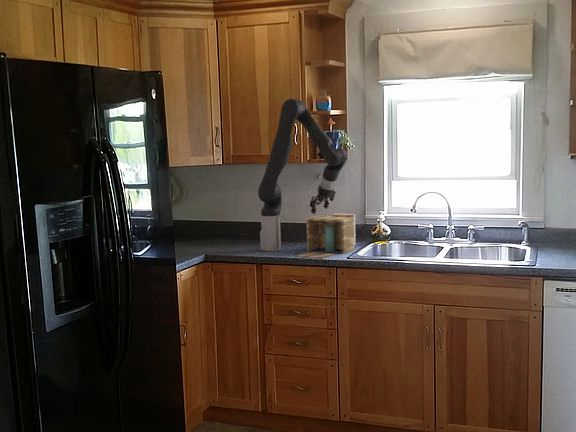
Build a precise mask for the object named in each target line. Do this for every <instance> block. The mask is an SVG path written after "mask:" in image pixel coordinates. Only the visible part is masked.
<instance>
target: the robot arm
mask: <svg viewBox="0 0 576 432" xmlns="http://www.w3.org/2000/svg"><path fill="white" fill-rule="evenodd" d="M295 120H296V121H297V122H299V124H301V125H302V126H303V127H304V129H305V130H306V132H307V134H308V136H309V139H310V140H311V141H312V142H313V144H314V145H315V146H316V147H317V148H318V150H319V151H320V154H321V155H322V157H323V160H324V162H325V163H326V166H325V167H324V169H323V173H322V176H321V177H320V180H319V183H318V184H319V185H318V187H317V195H316V196H315V195H314V196H312V197H311V200H310V203H309V207H310V208H311V210H310V212H311V214H313V215H315V214H316V211H317V208H318V207H319V206H321V204H322V203H323V208H324V209H328V207H329V206H330V203H331V202H333V201H335V200H334V199H335V195H336V193H337V192H336V191H335V187H336V185H337V180H338V177H339V173H340V171H341V170H342V169H343V167H344V165H345V163H346V161H347V157H348V156H347V152H346V151H347V150H346V149H344V148H342V147H338V148H335V149H332V148H331V147H332V145H333V140H332V139H331V138H330V137H329V136H328V134H326V132H325V131H324V130H323V129H322V128H321V126H320V125H319V124H318V123H317V121H316V120H315V119H314V117H313V116H312V114H311V113H310V111H309V110H308V108H307V106H306V104H305V103H304V102H303V101H301V100H300V99H296V98H295V99H294V98H288V99H286V100H285V101H284V102H283V104H282V106H281V109H280V115H279V121H278V125H277V129H276V132H275V136H274V140H273V143H272V146H271V150H270V153H269V158H268V161H267V163H266V167H265V172H264V174H263V176H262V179H261V182H260V184H259V187H258V191H257V195H258V198H259V200H260V201H261V202H263V207H262V208H261V210H260V216H261V217H260V219H261V222H260V223H261V230H260V231H259V240H260V241H259V242H260V243H259V245H260V246H259V247H260V249H259V250H260V251H263V252H277V251H281V250H282V249H281V248H282V243H281V214H280V213H281V210H282V189H281V187H280V185H279V184H278V183H277V182H278V181H279V177H280V175H281V173H282V172H283V170H284V168H285V167H286V165H287V163H288V161H289V159H290V155H291V152H292V149H293V140H292V130H293V127H294V123H295Z"/></svg>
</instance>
